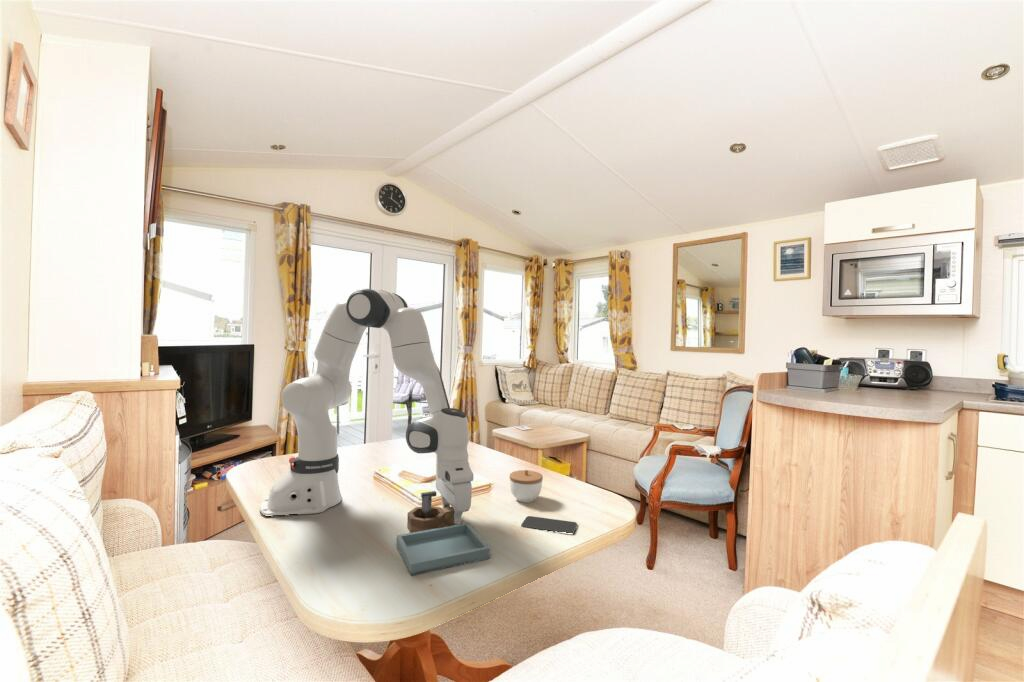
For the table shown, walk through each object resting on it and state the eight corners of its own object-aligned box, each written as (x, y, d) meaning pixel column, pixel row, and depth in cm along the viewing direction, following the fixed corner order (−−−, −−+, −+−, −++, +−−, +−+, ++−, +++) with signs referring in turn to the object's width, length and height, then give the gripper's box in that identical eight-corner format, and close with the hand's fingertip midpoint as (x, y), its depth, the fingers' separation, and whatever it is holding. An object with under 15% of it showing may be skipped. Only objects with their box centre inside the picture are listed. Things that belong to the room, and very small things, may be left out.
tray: (410, 575, 99) (410, 564, 99) (396, 545, 112) (396, 535, 112) (489, 558, 107) (490, 548, 107) (467, 531, 121) (468, 522, 121)
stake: (419, 532, 119) (420, 497, 119) (414, 525, 124) (415, 491, 124) (437, 529, 122) (438, 494, 121) (432, 522, 126) (433, 488, 126)
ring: (413, 537, 116) (413, 522, 116) (405, 523, 125) (405, 509, 125) (462, 528, 122) (462, 514, 122) (451, 515, 131) (451, 502, 131)
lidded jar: (517, 507, 138) (518, 477, 138) (503, 495, 148) (504, 467, 148) (547, 502, 143) (548, 473, 142) (532, 491, 152) (533, 463, 152)
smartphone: (527, 515, 132) (578, 522, 127) (527, 518, 132) (577, 525, 127) (520, 525, 125) (573, 533, 120) (520, 528, 125) (573, 536, 120)
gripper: (430, 458, 133) (430, 504, 134) (453, 479, 115) (452, 533, 115) (451, 456, 136) (450, 501, 137) (476, 476, 118) (475, 528, 118)
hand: (451, 516), depth 126 cm, fingers open, 8 cm apart
